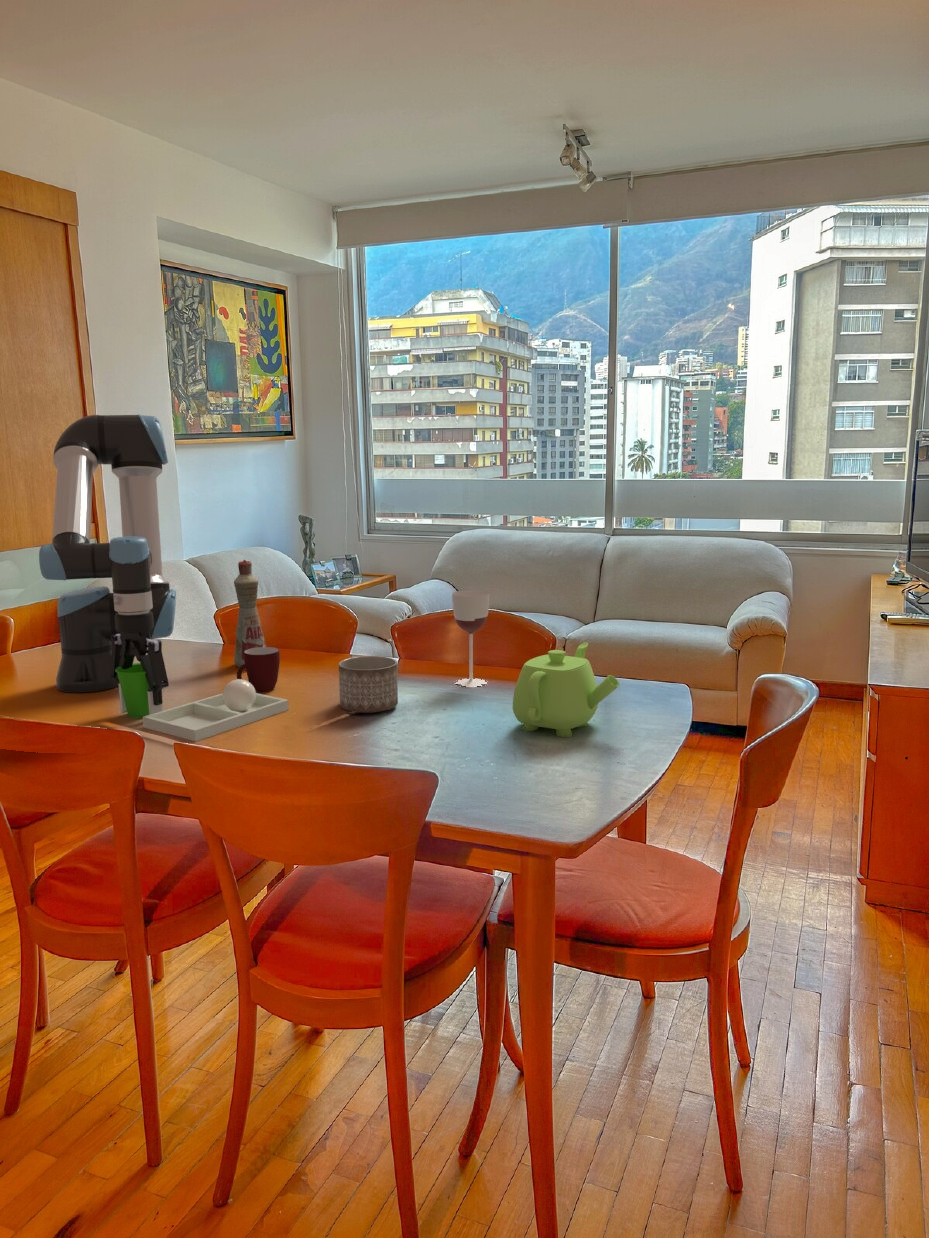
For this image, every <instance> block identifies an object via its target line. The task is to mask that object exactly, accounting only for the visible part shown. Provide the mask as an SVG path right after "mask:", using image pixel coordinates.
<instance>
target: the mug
mask: <svg viewBox="0 0 929 1238" xmlns="http://www.w3.org/2000/svg"><path fill="white" fill-rule="evenodd" d="M280 655H281V653H280V649H279V648H277V647H272V646H271V647H270V646H266V647H258V648H251V649H247V650H245V651H244V663H245V664H243V665H241V666H240V667H239V668H237V670H236V671H237V672H236V679H243V677H242V675H243V672H244V670H245V671H246V675H247V679H248V680H247V681H248V682H250V683H251V684H252V685H253V687H254V688H255V691H256V693H266V692H271V691H273V690H275V688H276V685H277V682H278V679H279V678H278V677H279V669H280V664H281V658H280V657H281V656H280Z"/></svg>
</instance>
